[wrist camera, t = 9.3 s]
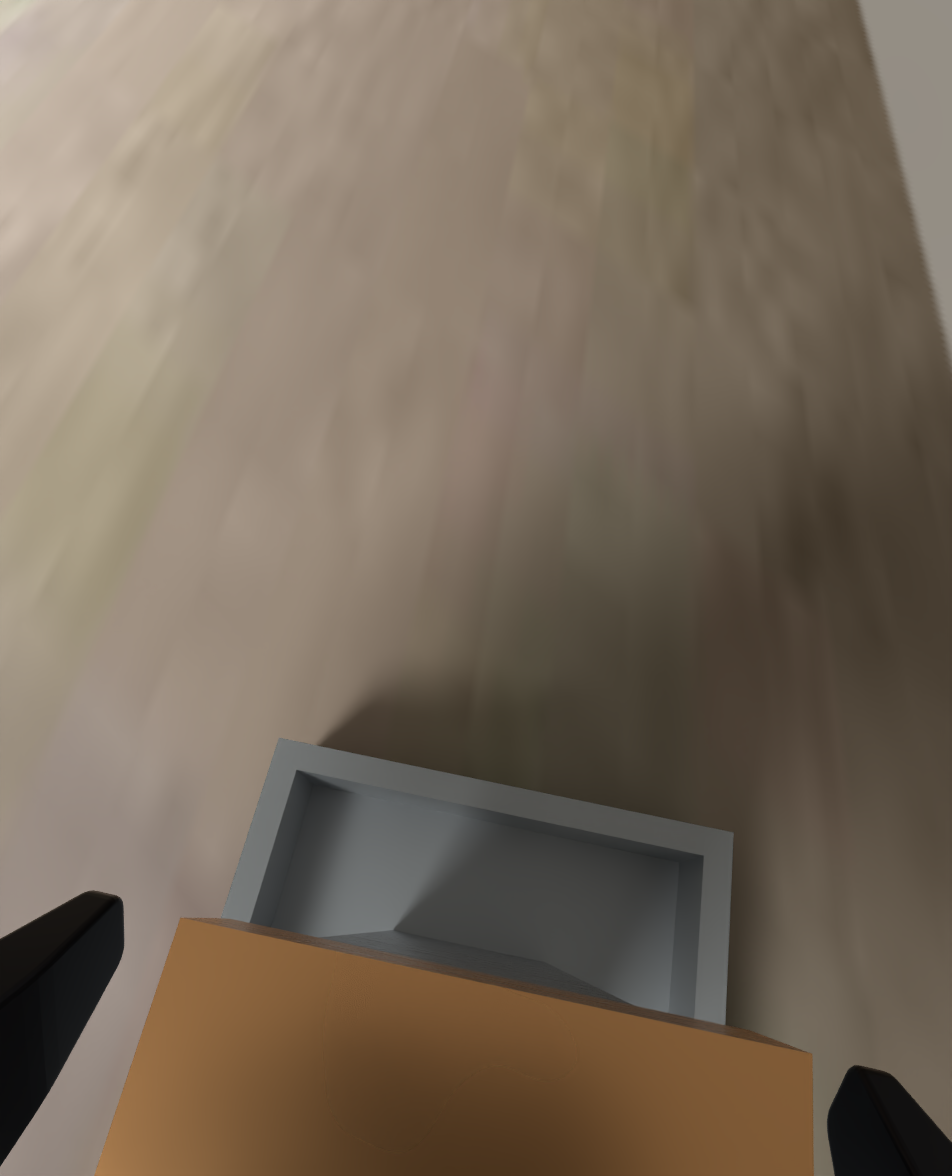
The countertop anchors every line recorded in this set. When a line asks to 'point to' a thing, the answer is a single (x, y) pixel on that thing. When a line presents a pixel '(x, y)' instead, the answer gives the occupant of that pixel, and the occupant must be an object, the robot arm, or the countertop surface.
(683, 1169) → the pin
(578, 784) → the countertop surface
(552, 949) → the tray
